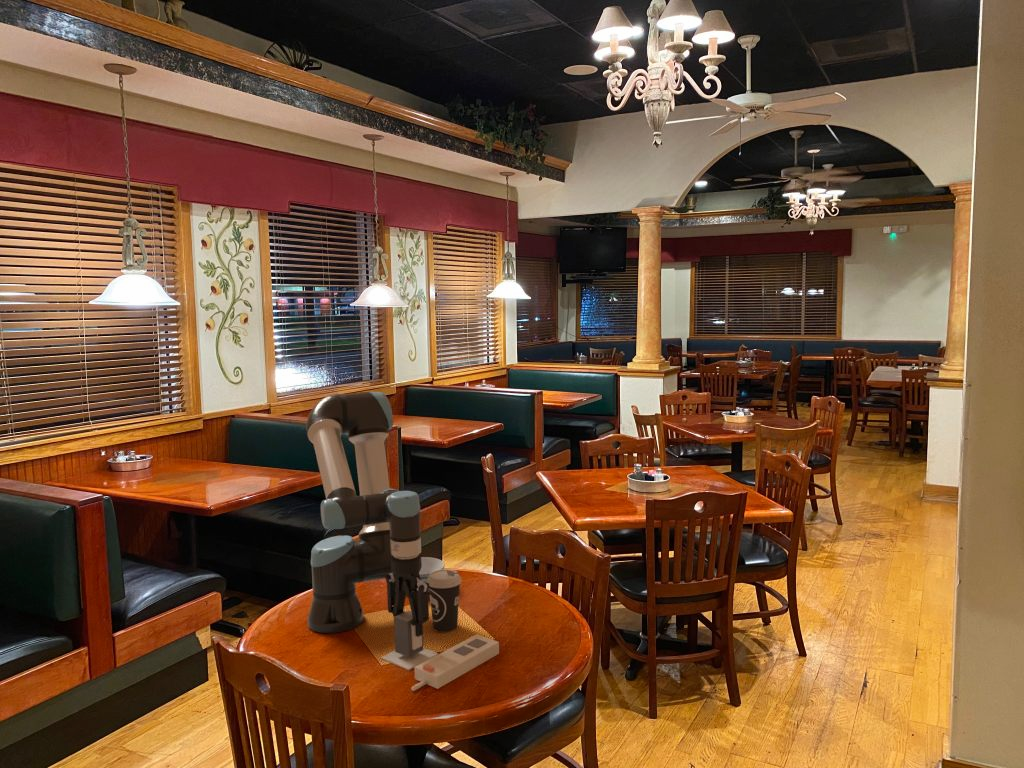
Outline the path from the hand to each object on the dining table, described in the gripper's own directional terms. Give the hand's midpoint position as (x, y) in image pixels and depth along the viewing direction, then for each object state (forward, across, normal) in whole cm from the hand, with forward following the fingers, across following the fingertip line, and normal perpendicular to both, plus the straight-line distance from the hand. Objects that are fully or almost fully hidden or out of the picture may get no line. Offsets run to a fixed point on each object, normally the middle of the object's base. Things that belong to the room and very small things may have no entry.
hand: (409, 644), depth 191 cm
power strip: (+3, +13, +2) cm, 14 cm away
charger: (+2, 0, 0) cm, 2 cm away
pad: (+3, 0, 0) cm, 3 cm away
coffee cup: (+4, -5, +18) cm, 19 cm away
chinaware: (+4, -30, +33) cm, 45 cm away
